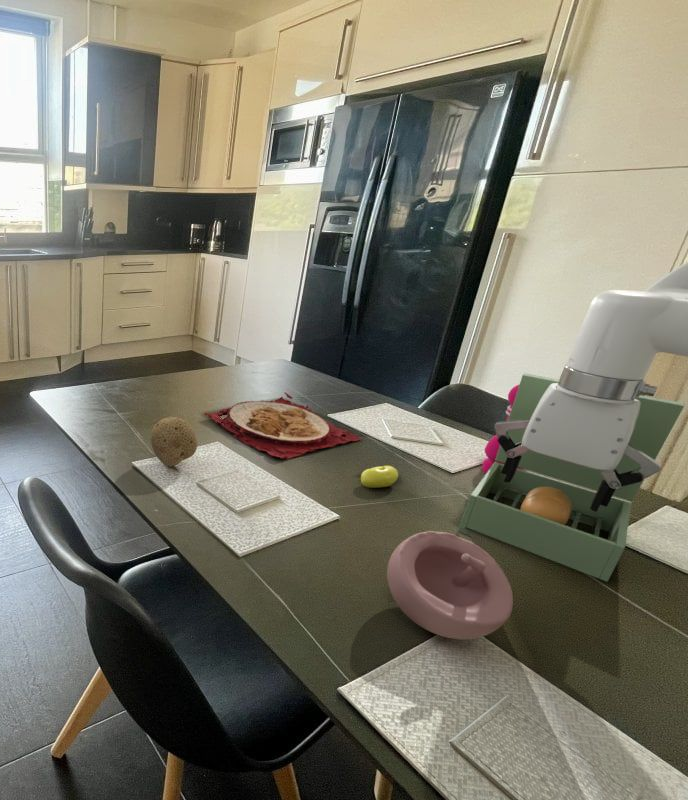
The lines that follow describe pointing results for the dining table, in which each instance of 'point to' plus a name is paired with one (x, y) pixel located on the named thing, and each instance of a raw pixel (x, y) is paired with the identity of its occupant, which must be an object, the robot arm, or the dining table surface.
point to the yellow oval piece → (379, 476)
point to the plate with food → (280, 427)
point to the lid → (645, 437)
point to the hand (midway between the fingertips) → (549, 492)
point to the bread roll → (548, 504)
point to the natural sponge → (173, 441)
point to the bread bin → (549, 523)
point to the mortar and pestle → (449, 585)
